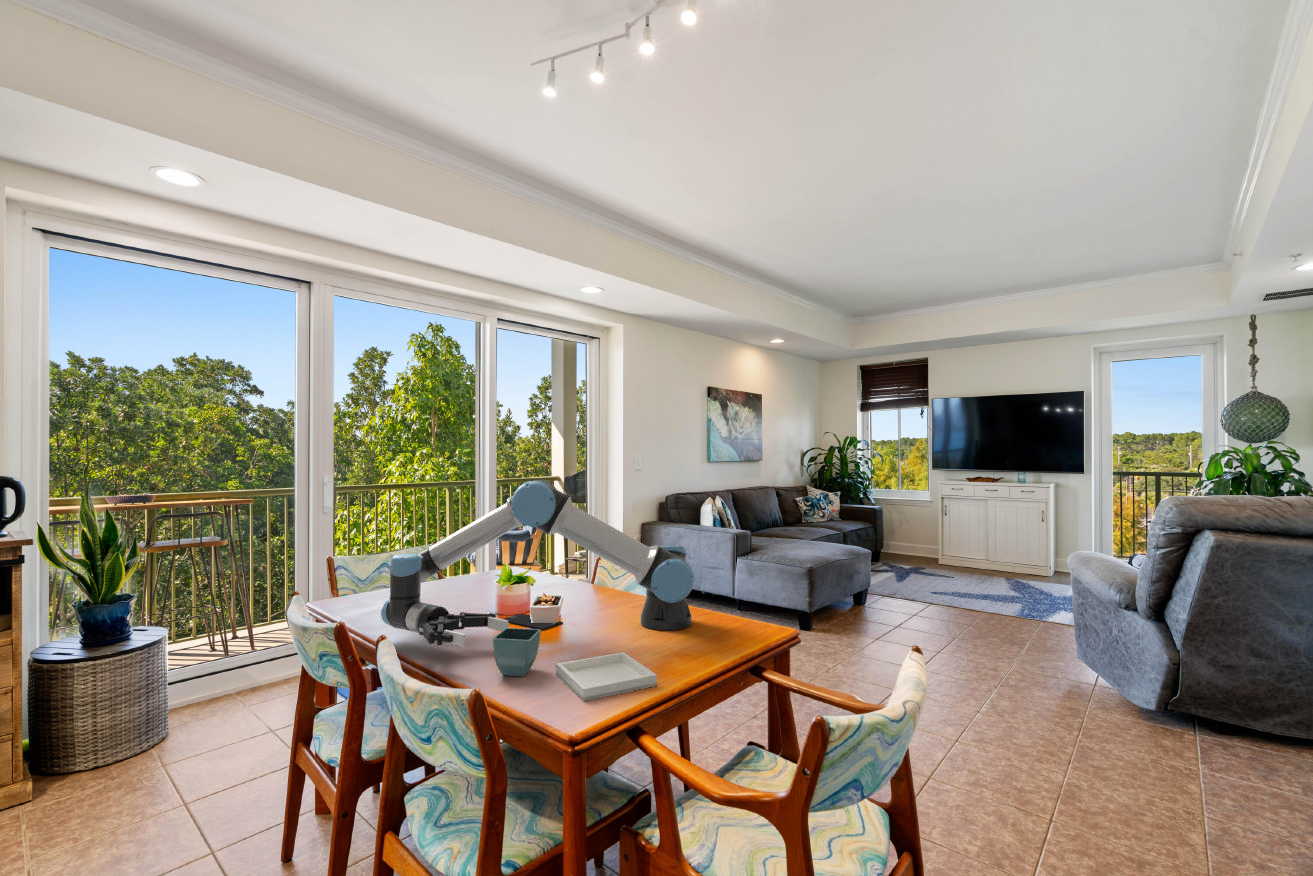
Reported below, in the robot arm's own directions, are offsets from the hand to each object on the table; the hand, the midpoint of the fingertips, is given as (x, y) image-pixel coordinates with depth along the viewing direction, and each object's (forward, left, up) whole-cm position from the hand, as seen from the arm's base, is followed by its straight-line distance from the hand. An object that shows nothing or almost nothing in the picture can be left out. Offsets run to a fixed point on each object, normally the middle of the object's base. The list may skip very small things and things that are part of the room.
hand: (486, 633), depth 146 cm
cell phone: (-20, -30, -8) cm, 37 cm away
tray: (-21, +23, -7) cm, 32 cm away
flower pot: (-5, +9, -8) cm, 12 cm away
